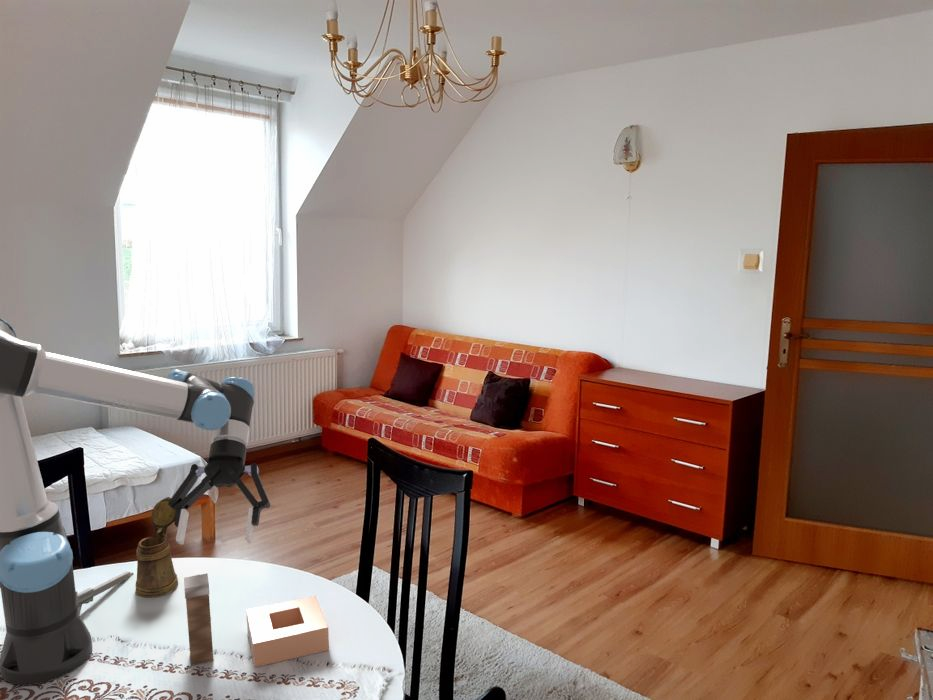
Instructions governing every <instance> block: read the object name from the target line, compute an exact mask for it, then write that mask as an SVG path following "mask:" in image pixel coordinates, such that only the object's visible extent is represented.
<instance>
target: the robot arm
mask: <svg viewBox="0 0 933 700" xmlns="http://www.w3.org/2000/svg"><path fill="white" fill-rule="evenodd" d="M31 394H38V395H42V396H48V397H51V398H52V397H53V398H59V399H62V400H63V399H64V400H69V401H74V402H79V403H83V404H84V403H85V404H90V405H95V406H96V405H97V406H100V407H106V408H112V409H116V410H123V411H128V412H132V413H133V412H135V413H139V414H142V415H143V414H144V415H149V416H155V417H160V418H163V419H164V418H165V419H170V420H176V421H181V422H184V423H189V424H190V423H191V424H194V425H195V426H196V427H198V428H200V429H201V430H204V431H212V436H211V439H210V440H211V444H210V449H209V453H208V458H207V463H206V465H205V466H201V465H197V464H196V463H193V464H192V465H191V467H190V469H189V473H188V475H187V476H186V477H185V479H184V480H183V482H182V483H181V484H180V486H179V487H178V489H177V490H176V492H174V494H173V495H172V496H171V497H170V498H171V500H170V501H169V502H168V505H169V506H170V507H171V508H172V509H173V510H176V516H175V521H174V522H173V523H174V526H175V527H176V528H177V530H176V531H177V532H176V536H175V542H176V543H177V544H178V545H181V546H182V545H184V543H185V539H186V532H187V527H188V521H189V515H190V512H188V510H189V509H190V508H191V507H192V506H193V505H194V504H195V503H196V502H197V501H199V499H200V498H201V497H202V496H203V495H204V494H206V492H208V491H210V490H212V488H213V487H215V488H223V487H226V488H232V487H233V486H236V487H237V488H238V489H239V491H240V492H241V493H242V494H243V495H244V497H245V498H246V500H247V501H248V502H249V504H250V505H251V506H252V507H251V506H250V507H248V512H247V520H246V525H245V526H246V527H245V536H244V540H245V541H246V542H247V544H252V543H253V535H254V534H253V533H254V527H255V526H257V527H258V526H259V524H260V517H261V511H263V509H269V508H271V503H270V500H269V498H268V497H269V496H268V495H267V492H266V490H265V488H264V486H263V484H262V480H261V478H260V469H259V467H258V464H257V463H255V462H252V464H250V465H245V463H246V457H247V449H248V448H247V446H248V440H249V435H250V427H251V419H252V414H253V413H252V412H253V407H254V404H255V386H254V384H253V383H252V382H251V381H250V380H249V379H246V378H244V377H236V376H230V377H227V378H225V379H223V380H222V381H221V382H217V381H215V380H211V379H209V378H206V377H203V376H201V375H197V374H194V373H191V372H190V371H184V370H180V369H176V368H175V369H173V370H171V371H170V372H169V373H168V374H167V376H166V377H162V376H161V377H160V376H156V375H152V374H147V373H143V372H140V371H139V372H138V371H133V370H131V369H130V370H129V369H124V368H120V367H116V366H111V365H107V364H102V363H99V362H98V363H97V362H94V361H89V360H84V359H80V358H76V357H72V356H67V355H62V354H58V353H53V352H48V351H45V349H44V348H43V346H42V345H41V343H40V344H39V343H35V342H30V341H26V340H24V339H21V338H18V337H17V333H16V331H15V330H14V329H13V326H11V325H10V323H8V322H7V321H6V320H5V319H3V318H1V317H0V594H1V595H0V596H1V601H2V608H3V615H4V616H3V617H4V623H5V631H6V632H5V637H4V640H3V644H2V648H1V652H0V676H1V678H2V679H3V680H4V679H5V680H6V682H7V681H8V682H7V683H9V682H11V683H10V684H12V683H13V684H12V685H17V684H20V685H19V686H30V685H29V684H32V685H39V684H43V683H47V682H50V681H55V680H57V679H59V678H62V677H63V676H66V675H68V674H69V673H71V672H73V671H75V670H76V669H77V668H80V667H81V666H82V665H83V664H85V662H87V660H88V659H89V658H90V656H91V654H92V652H93V639H92V634H91V633H90V631H89V629H88V627H87V626H86V624H85V622H84V621H83V619H82V617H81V615H79V613H78V608H77V599H76V592H77V591H76V590H77V589H76V584H75V583H76V582H75V575H74V567H73V560H74V556H73V549H72V548H71V545H70V542H69V540H68V536H67V532H66V528H65V526H64V525H63V521H62V517H61V513H60V511H59V506H58V504H56V503H54V502H52V501H50V500H48V497H47V494H46V489H45V486H44V483H43V478H42V474H41V471H40V466H39V462H38V459H37V455H36V452H35V451H36V450H35V448H34V447H35V446H34V442H33V439H32V436H31V431H30V428H29V424H28V420H27V416H26V415H27V414H26V412H25V408H24V404H23V399H22V398H25V397H28V396H29V395H31ZM204 473H205V476H204V477H203V478H202V479H201V482H200V483H198V484H197V486H196V487H194V486H195V484H196V482H197V481H198V479H199V478H201V477H202V474H204ZM246 473H247V474H248V475H249V476H250V477H251V478H252V480H253V483H254V485H255V487H256V489H257V493H258V495H259V498H260V500H259V501H258V500H257V499H256V497H255V496H254V495H253V494H252V492H251V491H250V490H249V488H248V487H247V486H246V485H245V483H244V482H243V481H242V479H241V478H242V477H244V475H245V474H246ZM193 487H194V488H193ZM192 488H193V489H192ZM5 680H4V681H5ZM42 682H43V683H42ZM38 683H39V684H38ZM26 684H28V685H26Z"/></svg>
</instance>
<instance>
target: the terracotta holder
mask: <svg viewBox="0 0 933 700" xmlns="http://www.w3.org/2000/svg"><path fill="white" fill-rule="evenodd" d="M245 610H246V611H245V612H246V626H247V636H248V641H249V646H250V650H251V655H252V660H253V661H252V662H253V665H254V668H258V667H261V666H266V665H271V664H275V663H280V662H283V661H289V660H291V659H297V658H301V657H304V656H306V657H307V656H310V655H313V654H318V653H322V652H327V651H330V646H329V644H330V641H329V639H330V638H329V626H328V623H327V621H326V618H325V615H324V613H323V610H322V607H321V606H320V602H319V599H318V597H317V595H312V596H309V597H303V598H302V597H301V598H297V599H294V600H292V599H291V600H289V601H282V602H278V603H273V604H269V605H267V604H266V605H263V606H257V607H253V608H248V609H245Z"/></svg>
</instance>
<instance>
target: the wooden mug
mask: <svg viewBox="0 0 933 700" xmlns="http://www.w3.org/2000/svg"><path fill="white" fill-rule="evenodd" d="M171 498H172V497H170V496H167V497H164V498H163V499H161V500H159V501H158V502H157V503H156V504H155V505H154V506H153V507H152V508H153V509H152V511H151V516H150V519H151V522H152V524H153V525H154V528H155V529H154V530H155V531H154V534H153V536H148V537H145V538H142V539H141V540H140V541H139V542H138V544H137V548H136V559H137V566H136V567H137V568H136V580H135V592H134V593H135V594H136V595H137V596H139V597H142V598H149V599H151V598H158V597H162V596H165V595H168V594H169V593H172V592H173V591H174V590H176V589H177V587H178V585H179V579H178V574H177V573H176V571H175V568H174V567H175V566H174V562H173V559H172V555H171V551H172V550H171V545H170V543H169V542H168V541H169V540H168V534H167V531H168V528H169V526H171V525H172V524H173V523H174V521H175V516H176V510H173V509H172V508H171V507H170V506H169V505H168V502H169V501H170V500H171Z"/></svg>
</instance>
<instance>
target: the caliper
mask: <svg viewBox="0 0 933 700" xmlns="http://www.w3.org/2000/svg"><path fill="white" fill-rule="evenodd" d="M134 574H135V573H134V572H131V571H125V572H122V573H120V574H118V575H116V576H114V577H112V578H111V579H109V580H107V581H105V582H103V583H101V584H98V585H97V586H95V587H93V588H92V587H91V588H90V587H89V588H87V589H85V590H83V591H81V592H79V593H78V591H76V599H77V608H78V613H79V615H80V614H81V610H82V606H83V605H84V604H85V605H86V604H89V603H90V602H91V603H92V602H93V601H94V597H96V596H98V595H100V594H102V593H103V592H106V591H108V590H110V589H112V588H113V587H115V586H118V585H119V584H121V583H124V582H125V581H127V580H128V579H129V578H130V577H131V576H133V575H134ZM80 616H81V615H80Z"/></svg>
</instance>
